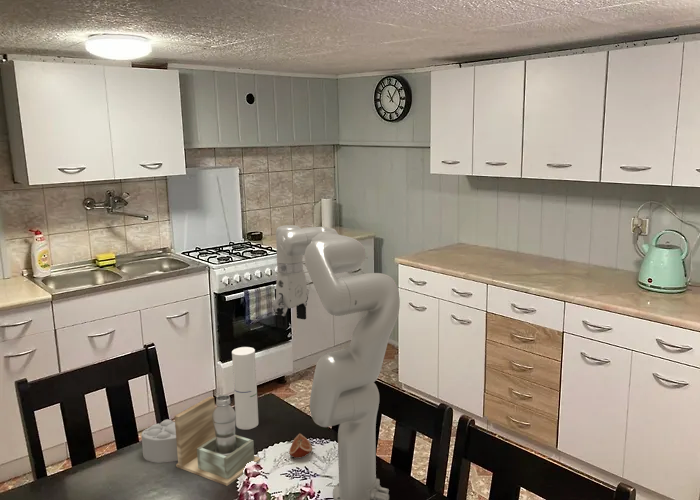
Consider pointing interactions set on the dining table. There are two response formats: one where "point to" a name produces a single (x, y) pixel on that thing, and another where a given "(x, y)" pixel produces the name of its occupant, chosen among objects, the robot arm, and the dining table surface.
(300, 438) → the fruit slice
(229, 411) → the plastic bottle
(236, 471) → the wall caddy
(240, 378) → the cylindrical container
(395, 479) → the dining table surface
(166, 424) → the lumpy-topped squat cylinder
